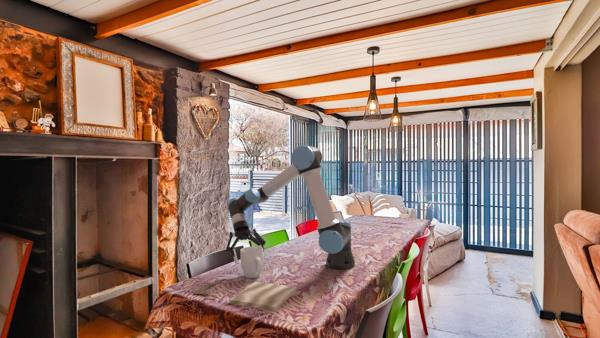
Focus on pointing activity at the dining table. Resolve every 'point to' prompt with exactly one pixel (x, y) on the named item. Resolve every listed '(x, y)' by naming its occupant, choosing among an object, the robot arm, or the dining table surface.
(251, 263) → the mug
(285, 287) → the board
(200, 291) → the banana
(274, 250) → the dining table surface
